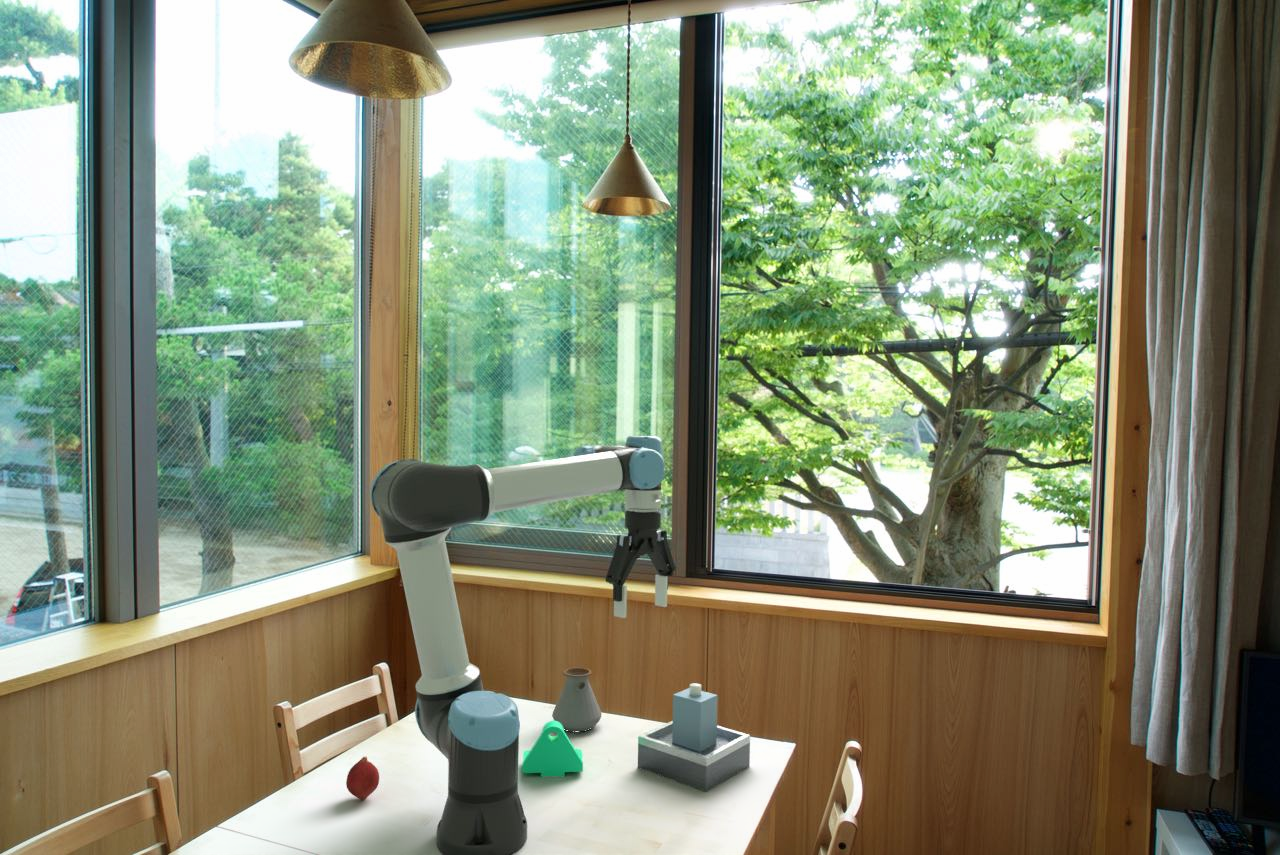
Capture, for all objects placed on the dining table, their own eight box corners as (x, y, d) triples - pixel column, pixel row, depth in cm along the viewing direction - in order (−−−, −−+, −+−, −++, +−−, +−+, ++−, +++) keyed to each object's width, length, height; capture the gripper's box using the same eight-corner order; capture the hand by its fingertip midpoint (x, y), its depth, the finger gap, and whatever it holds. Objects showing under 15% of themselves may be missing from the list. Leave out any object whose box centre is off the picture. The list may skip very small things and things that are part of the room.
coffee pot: (551, 718, 198) (552, 655, 198) (598, 716, 199) (600, 654, 199) (554, 754, 177) (556, 684, 177) (608, 752, 178) (609, 682, 178)
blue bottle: (699, 751, 167) (701, 692, 167) (672, 742, 171) (673, 684, 171) (716, 743, 172) (717, 685, 171) (689, 734, 176) (690, 678, 176)
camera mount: (581, 761, 174) (582, 712, 174) (582, 777, 166) (583, 725, 166) (523, 762, 173) (524, 713, 172) (522, 778, 165) (523, 727, 165)
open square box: (705, 792, 160) (706, 758, 160) (637, 767, 171) (638, 736, 171) (749, 766, 172) (750, 735, 172) (683, 744, 183) (683, 715, 183)
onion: (344, 808, 151) (345, 764, 151) (347, 794, 156) (348, 751, 156) (378, 804, 152) (379, 761, 152) (379, 791, 158) (380, 749, 158)
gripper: (617, 515, 161) (615, 624, 161) (692, 507, 180) (690, 604, 180) (589, 512, 165) (587, 618, 166) (664, 504, 185) (663, 599, 185)
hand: (641, 611), depth 173 cm, fingers open, 13 cm apart
